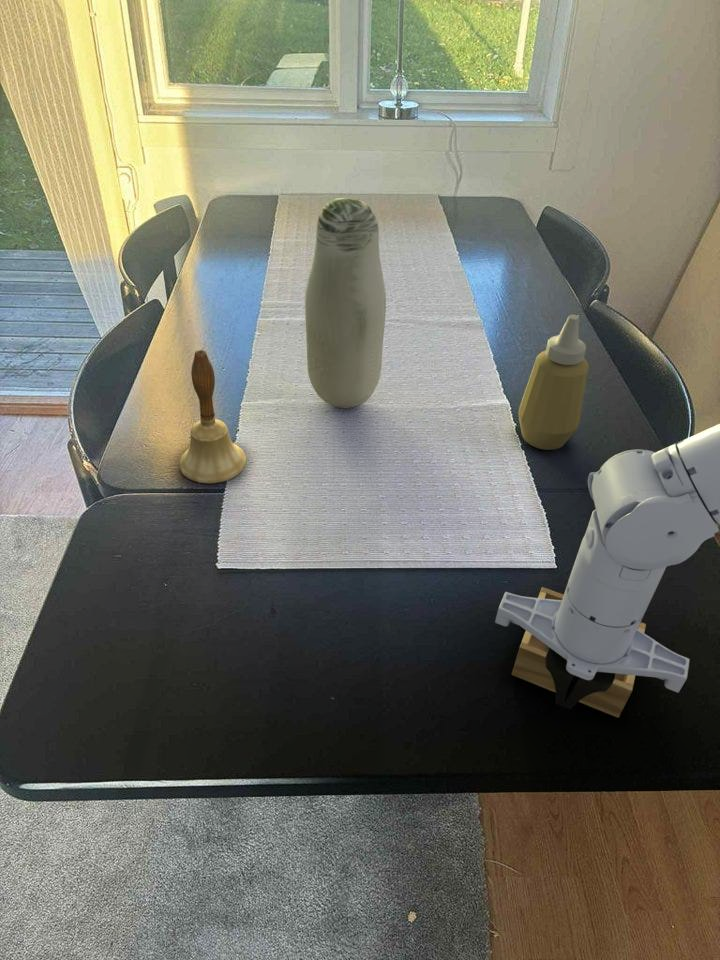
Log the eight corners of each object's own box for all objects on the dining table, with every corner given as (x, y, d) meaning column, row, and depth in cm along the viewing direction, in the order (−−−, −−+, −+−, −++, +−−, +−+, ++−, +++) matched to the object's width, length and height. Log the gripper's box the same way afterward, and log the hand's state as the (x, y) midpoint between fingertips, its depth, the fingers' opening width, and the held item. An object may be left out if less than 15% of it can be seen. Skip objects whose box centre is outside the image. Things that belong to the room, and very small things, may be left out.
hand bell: (220, 434, 93) (207, 327, 83) (259, 464, 89) (250, 354, 78) (166, 461, 89) (145, 351, 78) (205, 493, 84) (187, 381, 74)
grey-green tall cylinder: (294, 395, 100) (287, 196, 82) (350, 372, 105) (355, 180, 87) (336, 428, 95) (338, 223, 76) (393, 403, 100) (408, 204, 81)
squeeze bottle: (569, 422, 97) (603, 303, 86) (577, 459, 91) (614, 336, 79) (511, 417, 98) (536, 298, 86) (515, 453, 92) (542, 331, 80)
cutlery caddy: (618, 718, 63) (632, 691, 60) (511, 674, 66) (519, 647, 63) (633, 651, 69) (646, 623, 66) (533, 614, 72) (542, 586, 69)
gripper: (495, 599, 51) (471, 700, 60) (704, 676, 47) (644, 773, 56) (522, 537, 56) (495, 640, 65) (713, 602, 52) (656, 702, 61)
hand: (565, 697), depth 61 cm, fingers closed
